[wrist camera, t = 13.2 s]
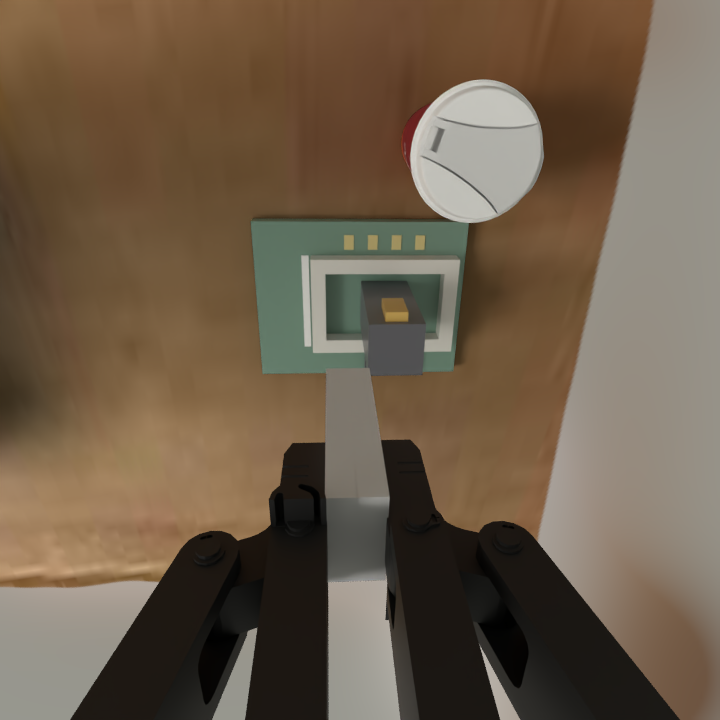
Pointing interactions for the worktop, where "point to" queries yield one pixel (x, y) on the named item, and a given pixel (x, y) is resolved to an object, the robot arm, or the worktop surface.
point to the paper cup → (474, 150)
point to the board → (351, 286)
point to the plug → (391, 328)
